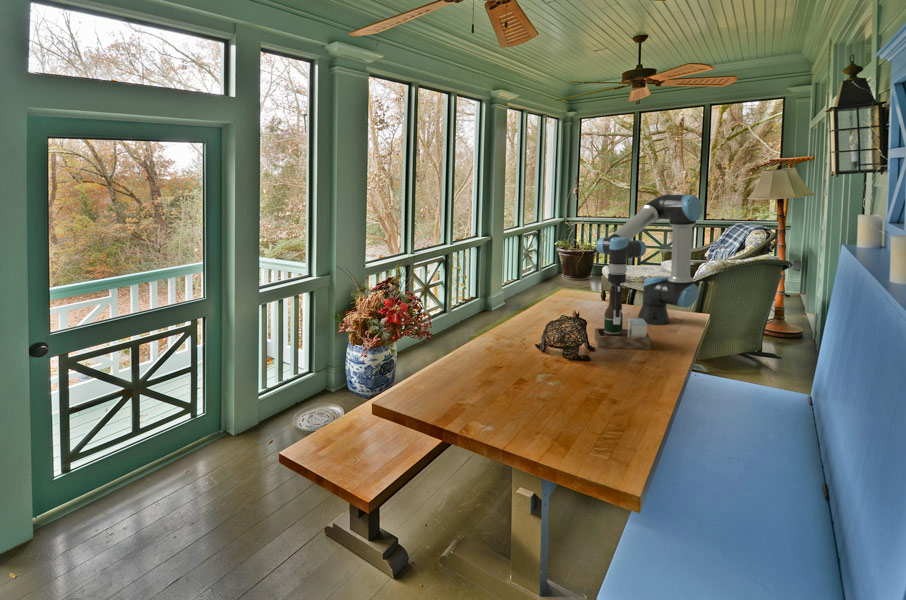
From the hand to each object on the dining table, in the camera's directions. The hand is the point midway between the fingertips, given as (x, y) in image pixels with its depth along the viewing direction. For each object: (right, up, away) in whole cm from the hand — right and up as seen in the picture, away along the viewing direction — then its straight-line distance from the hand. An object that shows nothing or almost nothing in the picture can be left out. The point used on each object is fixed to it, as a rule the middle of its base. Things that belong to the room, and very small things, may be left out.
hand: (614, 320), depth 243 cm
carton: (+10, -10, +1) cm, 14 cm away
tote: (+4, -11, +2) cm, 11 cm away
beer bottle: (0, -9, +2) cm, 10 cm away
